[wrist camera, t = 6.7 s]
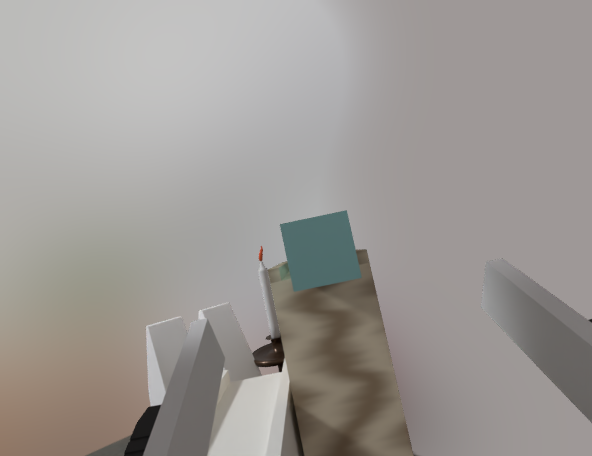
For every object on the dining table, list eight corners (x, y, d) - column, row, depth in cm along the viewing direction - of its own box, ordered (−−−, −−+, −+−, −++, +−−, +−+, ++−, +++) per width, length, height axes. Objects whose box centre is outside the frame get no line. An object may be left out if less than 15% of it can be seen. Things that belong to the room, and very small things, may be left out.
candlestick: (326, 408, 58) (291, 240, 61) (312, 445, 48) (271, 241, 51) (278, 409, 62) (247, 250, 65) (255, 444, 51) (220, 253, 54)
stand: (343, 653, 23) (267, 269, 26) (326, 477, 41) (283, 262, 43) (454, 633, 23) (366, 249, 25) (388, 464, 41) (341, 250, 43)
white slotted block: (157, 451, 56) (137, 322, 58) (230, 411, 65) (210, 302, 67) (187, 507, 41) (159, 331, 43) (275, 444, 50) (248, 303, 53)
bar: (293, 291, 16) (280, 224, 17) (301, 265, 46) (296, 241, 47) (361, 277, 16) (346, 210, 17) (325, 260, 46) (320, 236, 47)
